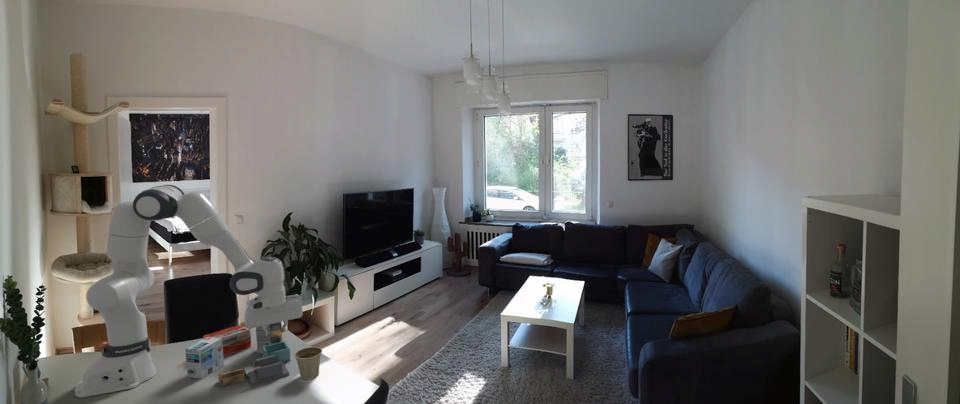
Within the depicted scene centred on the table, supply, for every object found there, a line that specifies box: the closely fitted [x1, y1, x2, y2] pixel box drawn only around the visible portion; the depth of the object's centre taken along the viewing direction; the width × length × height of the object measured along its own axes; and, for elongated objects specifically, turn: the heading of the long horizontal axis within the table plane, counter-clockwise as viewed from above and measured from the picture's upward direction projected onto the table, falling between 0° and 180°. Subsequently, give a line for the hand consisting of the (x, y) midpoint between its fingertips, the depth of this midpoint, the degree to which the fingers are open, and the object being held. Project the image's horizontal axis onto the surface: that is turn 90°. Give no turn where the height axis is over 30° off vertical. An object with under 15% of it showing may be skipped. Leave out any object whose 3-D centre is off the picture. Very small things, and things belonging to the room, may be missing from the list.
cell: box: [269, 322, 283, 344], centre depth 174 cm, size 4×4×8 cm
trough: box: [218, 367, 248, 388], centre depth 159 cm, size 8×5×2 cm, turn 125°
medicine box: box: [202, 324, 252, 357], centre depth 183 cm, size 15×8×8 cm, turn 141°
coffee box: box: [255, 322, 284, 354], centre depth 184 cm, size 9×6×16 cm
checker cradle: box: [247, 355, 290, 386], centre depth 163 cm, size 12×9×5 cm
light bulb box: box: [184, 337, 225, 379], centre depth 166 cm, size 11×7×11 cm, turn 169°
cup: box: [262, 340, 291, 364], centre depth 175 cm, size 8×8×5 cm
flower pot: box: [293, 346, 323, 380], centre depth 162 cm, size 9×9×9 cm
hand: (275, 333), depth 174 cm, fingers closed on cell, 4 cm apart
